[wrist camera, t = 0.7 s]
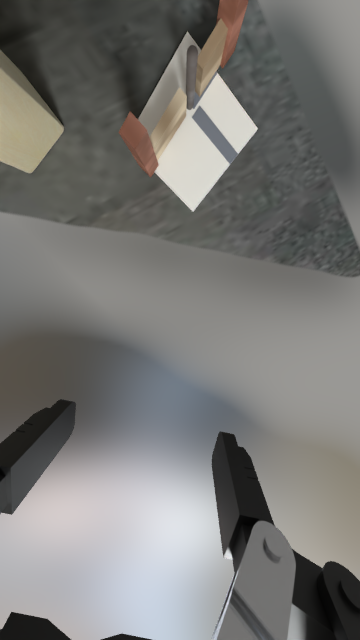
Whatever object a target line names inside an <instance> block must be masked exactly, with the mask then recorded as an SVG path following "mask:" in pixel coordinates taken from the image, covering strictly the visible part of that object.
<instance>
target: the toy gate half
mask: <svg viewBox="0 0 360 640" xmlns="http://www.w3.org/2000/svg"><path fill="white" fill-rule="evenodd" d="M186 106H187V96H186V94H185V93H184V92H183V91H182V89H181V88H180V87H179V89H178V90H177V92H176V94H175V95H174V97H173V99H172V100H171V102H170V104H169V105H168V107H167V109H166V110H165V112H164V114H163V115H162V117H161V119H160V120H159V122H158V124H157V125H156V127H155V129H154V130H153V132H152V134H151V135H150V137H149V134H148V132H147V129H146V128H145V127H144V126H143V125H142V124H141V123H140V122H139V120H138V119H137V118H136V117H135V116H134V115H133V114H132V113H131V112H129V114H128V116H127V118H126V120H125V122H124V123H123V125H122V127H121V129H120V131H119V134H120V135H121V137H122V138H123V140H124V142H125V143H126V145H127V146H128V148H129V150H130V151H131V153H132V154H133V156H134V158H135V159H136V161H137V163H138V164H139V166H140V167H141V168H142V169H143V170H144V171H145V172H146V173H147V174H148V175H149V176H150V177H151V176H152V175H153V173H154V172H155V170H156V169H157V167H158V166H159V164H158V159H159V158H160V156H161V155H162V153H163V152H164V150H165V149H166V147H167V145H168V144H169V142H170V141H171V139H172V138H173V136H174V135H175V133H176V131H177V130H178V128H179V127H180V125H181V124H182V122H183V121H184V119H185V117H186Z"/></svg>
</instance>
